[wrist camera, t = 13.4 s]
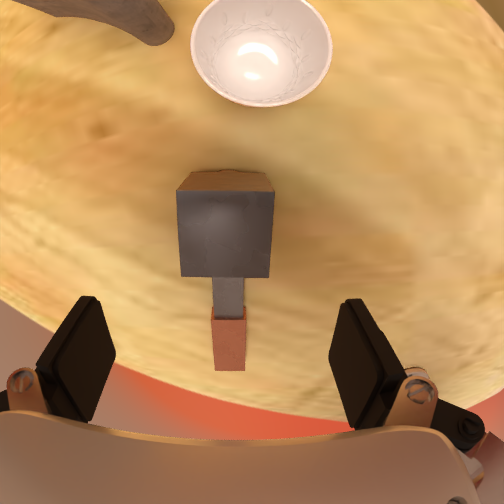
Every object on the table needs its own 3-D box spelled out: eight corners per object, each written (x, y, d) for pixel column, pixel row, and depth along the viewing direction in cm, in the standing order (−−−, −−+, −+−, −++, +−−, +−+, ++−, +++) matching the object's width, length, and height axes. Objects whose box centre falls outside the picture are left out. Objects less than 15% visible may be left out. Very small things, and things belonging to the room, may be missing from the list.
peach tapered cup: (258, 16, 19) (270, -34, 10) (315, 78, 22) (359, 58, 13) (189, 67, 21) (161, 39, 12) (247, 130, 24) (254, 135, 15)
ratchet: (252, 356, 36) (254, 391, 30) (207, 356, 35) (205, 391, 30) (259, 169, 26) (265, 182, 21) (197, 169, 26) (187, 182, 20)
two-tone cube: (261, 240, 26) (268, 277, 20) (193, 239, 26) (181, 276, 20) (264, 173, 24) (274, 191, 18) (191, 172, 23) (176, 190, 17)
